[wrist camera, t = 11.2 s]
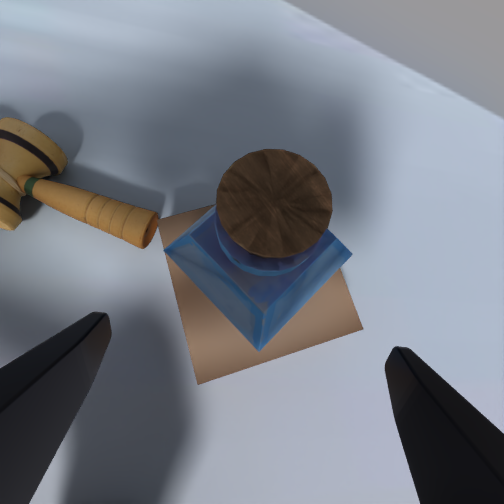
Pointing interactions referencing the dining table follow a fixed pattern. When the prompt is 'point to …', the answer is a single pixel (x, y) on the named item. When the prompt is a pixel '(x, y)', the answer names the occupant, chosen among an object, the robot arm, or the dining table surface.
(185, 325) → the walnut plinth
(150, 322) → the dining table surface
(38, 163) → the kendama
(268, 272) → the perfume bottle
